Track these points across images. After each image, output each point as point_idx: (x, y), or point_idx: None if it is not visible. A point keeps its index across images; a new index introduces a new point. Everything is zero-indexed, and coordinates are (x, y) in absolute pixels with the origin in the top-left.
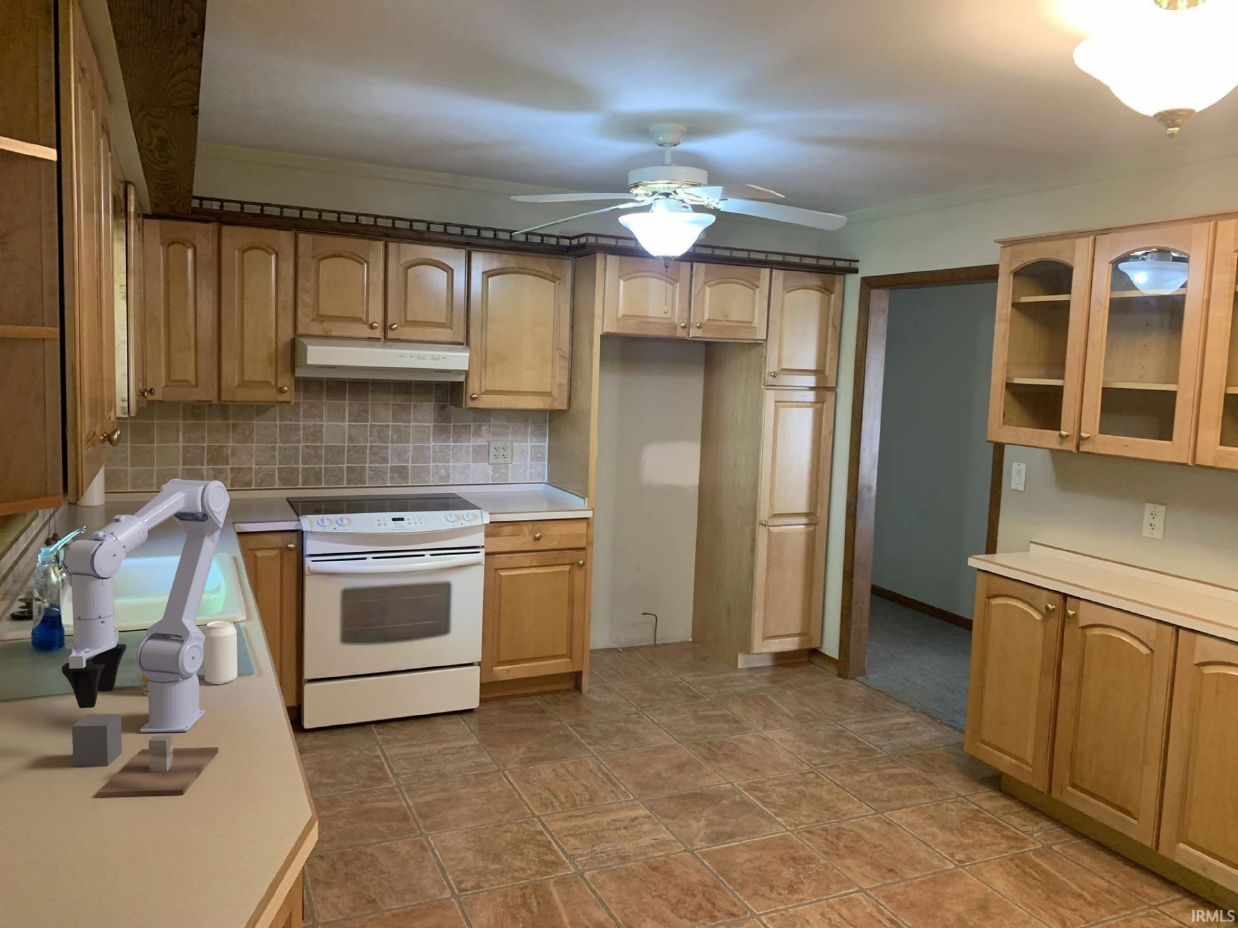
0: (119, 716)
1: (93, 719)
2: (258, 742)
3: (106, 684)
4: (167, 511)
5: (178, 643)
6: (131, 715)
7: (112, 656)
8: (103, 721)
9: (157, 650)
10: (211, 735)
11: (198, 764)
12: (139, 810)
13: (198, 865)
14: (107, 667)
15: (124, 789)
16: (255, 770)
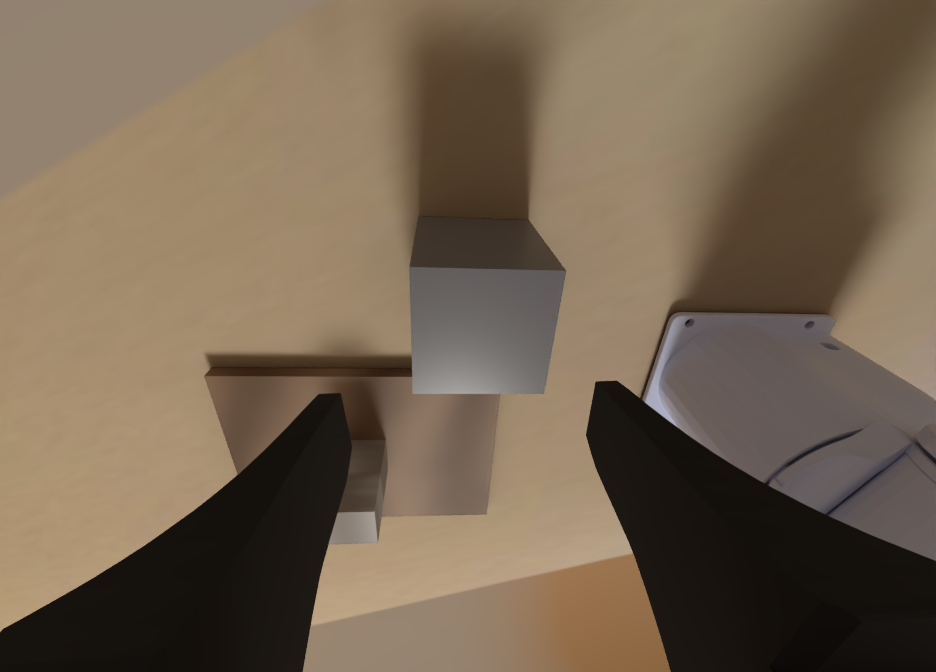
0: (528, 390)
1: (492, 321)
2: (526, 547)
3: (603, 443)
4: None
5: None
6: (869, 225)
7: (689, 665)
8: (461, 366)
9: None
10: (593, 469)
11: (388, 508)
12: (166, 466)
13: (3, 591)
14: (657, 543)
15: (233, 424)
16: (382, 571)
